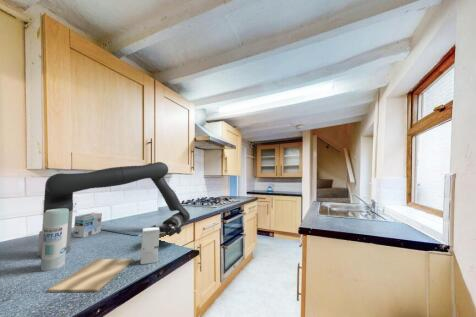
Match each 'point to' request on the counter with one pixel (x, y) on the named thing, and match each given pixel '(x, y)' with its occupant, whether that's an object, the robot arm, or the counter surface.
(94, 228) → the light bulb box
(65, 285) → the wooden board
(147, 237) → the skincare box
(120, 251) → the counter surface
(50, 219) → the spray paint can
